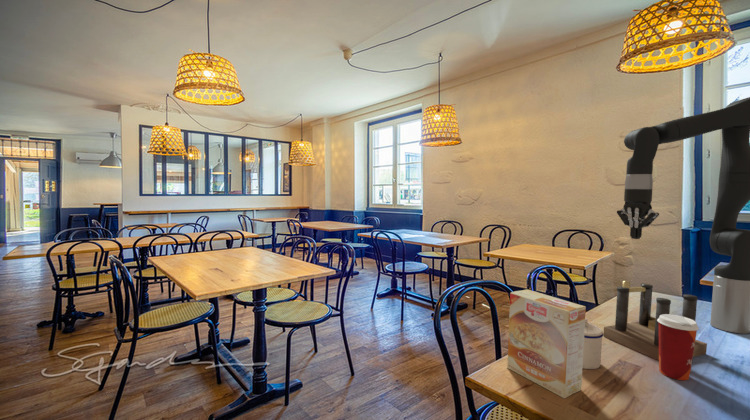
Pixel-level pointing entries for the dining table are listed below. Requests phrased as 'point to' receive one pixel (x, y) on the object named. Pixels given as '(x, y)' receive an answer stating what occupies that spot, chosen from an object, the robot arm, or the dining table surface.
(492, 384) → the dining table surface
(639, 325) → the base with upright pegs
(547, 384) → the coffeecake box
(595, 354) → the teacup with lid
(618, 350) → the dining table surface
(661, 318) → the paper cup
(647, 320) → the grey post frame
